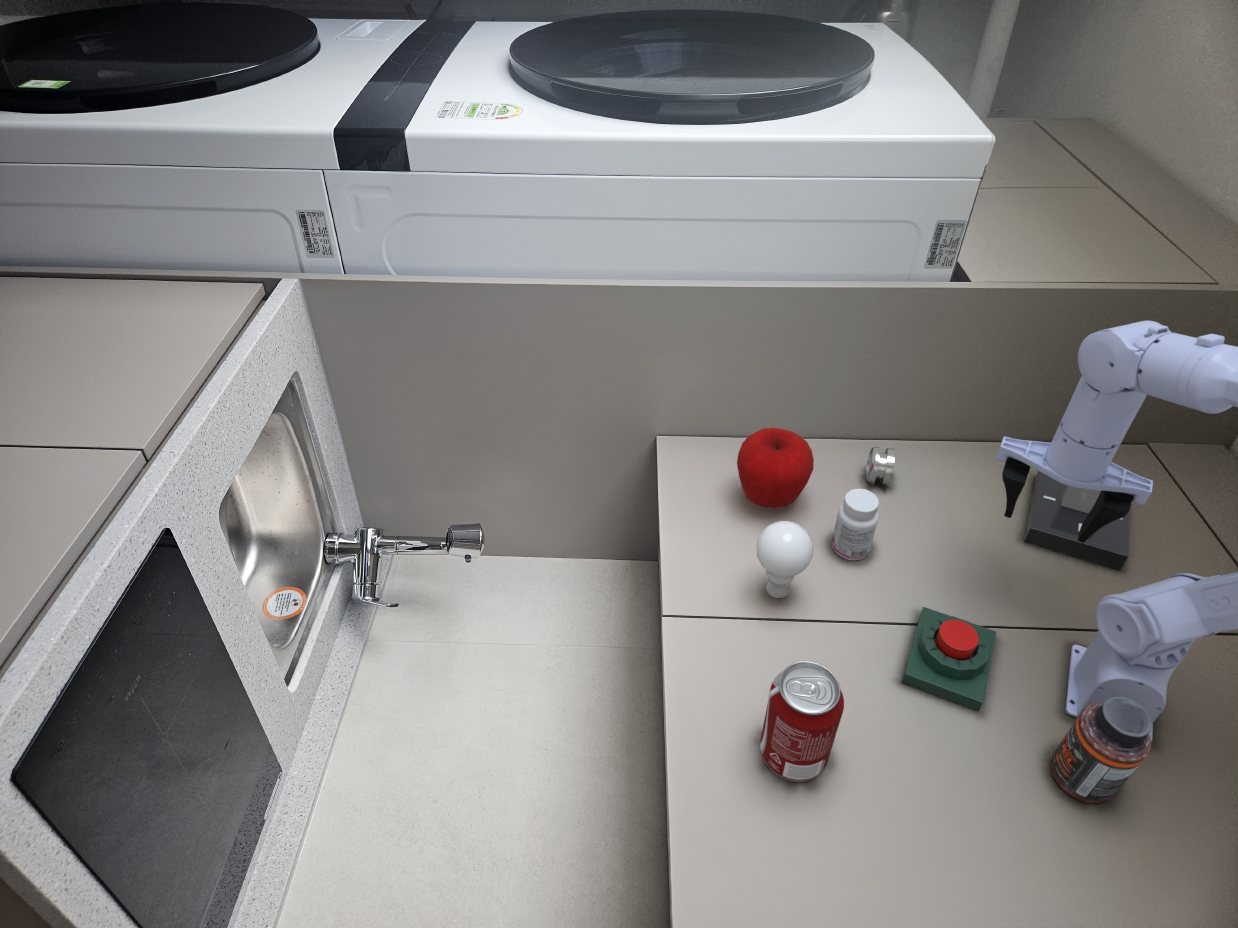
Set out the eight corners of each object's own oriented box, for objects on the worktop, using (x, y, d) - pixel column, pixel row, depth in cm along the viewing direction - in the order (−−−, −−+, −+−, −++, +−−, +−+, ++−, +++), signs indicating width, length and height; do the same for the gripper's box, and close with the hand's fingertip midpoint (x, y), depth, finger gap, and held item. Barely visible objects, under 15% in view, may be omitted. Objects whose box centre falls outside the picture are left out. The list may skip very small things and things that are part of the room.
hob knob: (1060, 505, 103) (1072, 481, 100) (1061, 497, 104) (1073, 473, 101) (1103, 517, 101) (1116, 493, 98) (1104, 509, 102) (1117, 485, 99)
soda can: (827, 790, 78) (848, 725, 70) (757, 778, 79) (770, 713, 71) (826, 727, 83) (846, 660, 75) (760, 717, 84) (773, 650, 76)
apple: (747, 530, 104) (755, 468, 97) (722, 481, 111) (728, 420, 104) (818, 516, 106) (831, 454, 98) (789, 469, 113) (800, 408, 105)
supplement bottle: (1040, 745, 81) (1081, 682, 74) (1101, 750, 81) (1149, 687, 73) (1058, 803, 77) (1104, 742, 69) (1123, 808, 76) (1177, 748, 69)
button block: (978, 711, 84) (988, 692, 82) (901, 682, 87) (908, 663, 85) (992, 640, 91) (1001, 621, 89) (919, 615, 94) (926, 596, 91)
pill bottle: (837, 528, 104) (849, 481, 98) (874, 541, 102) (887, 494, 97) (825, 552, 101) (836, 505, 95) (862, 566, 99) (876, 519, 94)
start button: (971, 665, 85) (975, 655, 84) (932, 651, 86) (936, 641, 85) (977, 637, 87) (981, 627, 86) (939, 624, 89) (943, 614, 88)
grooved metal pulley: (887, 493, 109) (895, 465, 105) (864, 489, 109) (871, 462, 106) (887, 468, 112) (894, 441, 109) (865, 465, 113) (872, 438, 110)
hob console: (1120, 570, 98) (1128, 555, 96) (1024, 541, 102) (1030, 526, 100) (1123, 502, 107) (1131, 488, 105) (1034, 478, 110) (1041, 464, 109)
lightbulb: (784, 622, 93) (796, 560, 86) (739, 594, 96) (747, 531, 89) (813, 590, 97) (828, 527, 89) (770, 564, 100) (780, 501, 92)
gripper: (1174, 430, 81) (1119, 523, 90) (1022, 388, 86) (984, 480, 95) (1170, 472, 76) (1113, 566, 85) (1009, 425, 82) (972, 518, 91)
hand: (1044, 523), depth 90 cm, fingers open, 7 cm apart
